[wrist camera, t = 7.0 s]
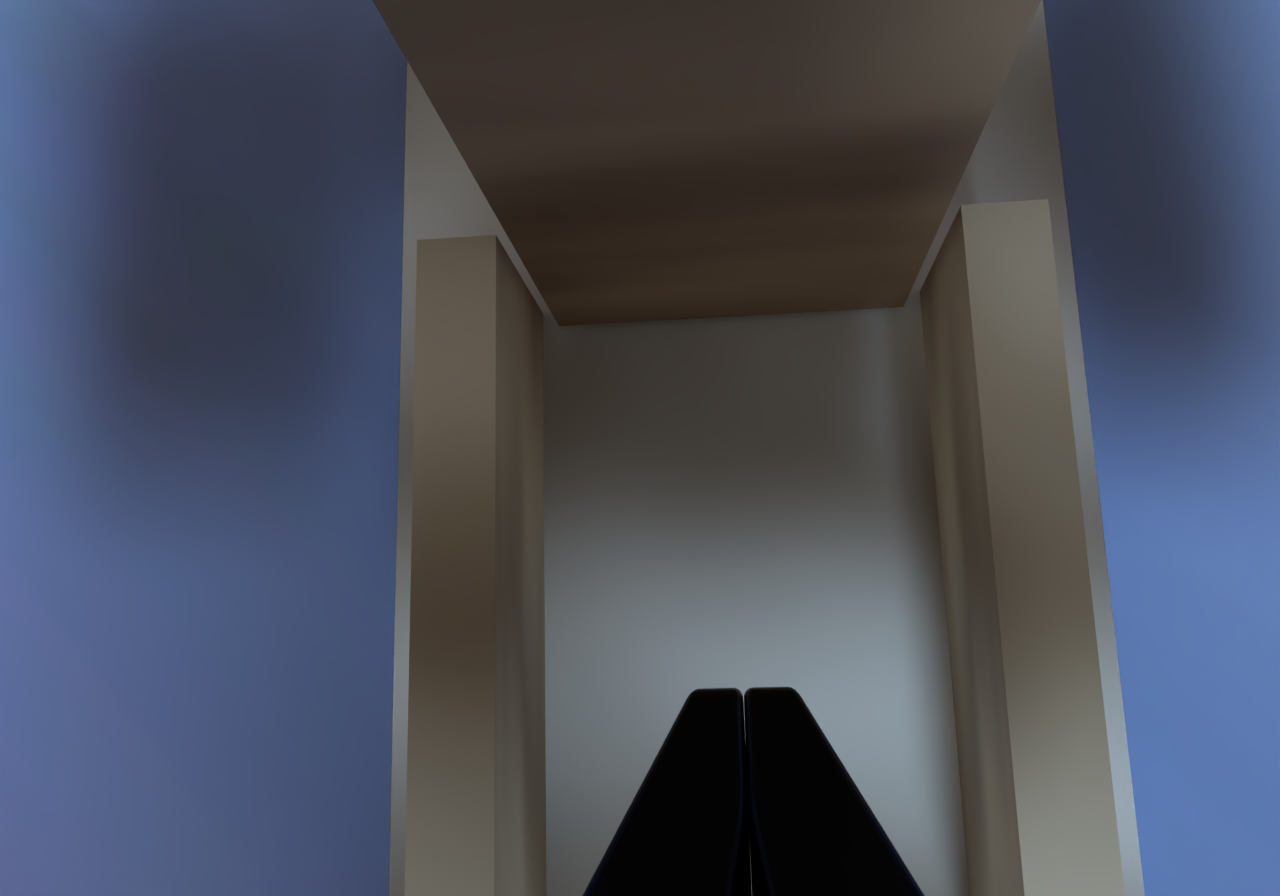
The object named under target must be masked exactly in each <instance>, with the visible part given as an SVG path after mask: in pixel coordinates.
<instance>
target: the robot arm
mask: <svg viewBox="0 0 1280 896" xmlns="http://www.w3.org/2000/svg"><path fill="white" fill-rule="evenodd" d="M744 716H745V723H744ZM745 743H746V744H745ZM750 860H751V863H750ZM751 881H752V888H751ZM582 896H925V895H924V894H923V892H922V890H921V889H920V887H919V886H918V884H917V882H916V881H915V879H914V877H913V876H912V874H911V873H910V871H909V869H908V868H907V866H906V865H905V863H904V861H903V860H902V858H901V857H900V855H899V853H898V852H897V850H896V849H895V847H894V845H893V844H892V842H891V840H890V839H889V837H888V836H887V834H886V832H885V831H884V829H883V828H882V826H881V824H880V823H879V821H878V820H877V818H876V816H875V815H874V813H873V811H872V810H871V808H870V807H869V805H868V803H867V802H866V800H865V799H864V797H863V795H862V794H861V792H860V791H859V789H858V787H857V786H856V784H855V782H854V781H853V779H852V778H851V776H850V774H849V773H848V771H847V770H846V768H845V766H844V765H843V763H842V762H841V760H840V758H839V757H838V755H837V754H836V752H835V750H834V749H833V747H832V745H831V744H830V742H829V741H828V739H827V737H826V736H825V734H824V733H823V731H822V729H821V728H820V726H819V725H818V723H817V721H816V720H815V718H814V716H813V715H812V713H811V712H810V710H809V708H808V707H807V705H806V704H805V702H804V700H803V699H802V697H801V696H800V694H799V693H798V692H797V691H796V690H795V689H793V688H791V687H753V688H749V689H748V690H746V692H745V694H744V702H743V694H742V693H741V691H740V690H738V689H737V688H704V689H695V690H694V691H692V692H691V693H690V694H689V696H688V697H687V699H686V701H685V703H684V704H683V706H682V708H681V710H680V712H679V714H678V716H677V718H676V720H675V721H674V723H673V725H672V727H671V729H670V731H669V733H668V735H667V737H666V738H665V740H664V742H663V744H662V746H661V748H660V750H659V752H658V754H657V755H656V757H655V759H654V761H653V763H652V765H651V767H650V769H649V771H648V772H647V774H646V776H645V778H644V780H643V782H642V784H641V786H640V788H639V789H638V791H637V793H636V795H635V797H634V799H633V801H632V803H631V805H630V806H629V808H628V810H627V812H626V814H625V816H624V818H623V820H622V822H621V823H620V825H619V827H618V829H617V831H616V833H615V835H614V837H613V839H612V840H611V842H610V844H609V846H608V848H607V850H606V852H605V854H604V856H603V857H602V859H601V861H600V863H599V865H598V867H597V869H596V871H595V872H594V874H593V876H592V878H591V880H590V882H589V884H588V886H587V888H586V889H585V891H584V893H583V895H582Z"/></svg>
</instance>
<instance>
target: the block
mask: <svg viewBox="0 0 1280 896" xmlns="http://www.w3.org/2000/svg"><path fill="white" fill-rule="evenodd" d="M373 1H374V3H375V5H376V7H377V8H378V10H379V12H380V14H381V15H382V17H383V19H384V21H385V22H386V24H387V26H388V28H389V29H390V31H391V33H392V35H393V36H394V38H395V40H396V42H397V43H398V45H399V47H400V49H401V50H402V52H403V54H404V56H405V57H406V59H407V61H408V63H409V65H410V66H411V68H412V70H413V72H414V73H415V75H416V77H417V79H418V80H419V82H420V84H421V86H422V87H423V89H424V91H425V93H426V94H427V96H428V98H429V100H430V101H431V103H432V105H433V107H434V108H435V110H436V112H437V114H438V115H439V117H440V119H441V121H442V122H443V124H444V126H445V128H446V129H447V131H448V133H449V135H450V136H451V138H452V140H453V142H454V143H455V145H456V147H457V149H458V150H459V152H460V154H461V156H462V157H463V159H464V161H465V163H466V164H467V166H468V168H469V170H470V171H471V173H472V175H473V177H474V178H475V180H476V182H477V184H478V185H479V187H480V189H481V191H482V192H483V194H484V196H485V198H486V199H487V201H488V203H489V205H490V206H491V208H492V210H493V212H494V213H495V215H496V217H497V219H498V220H499V222H500V224H501V226H502V227H503V229H504V231H505V233H506V234H507V236H508V238H509V240H510V241H511V243H512V245H513V247H514V248H515V250H516V252H517V254H518V255H519V257H520V259H521V261H522V262H523V264H524V266H525V268H526V269H527V271H528V273H529V275H530V276H531V278H532V280H533V282H534V283H535V285H536V287H537V289H538V290H539V292H540V294H541V296H542V297H543V299H544V301H545V303H546V304H547V306H548V308H549V310H550V311H551V313H552V315H553V317H554V318H555V320H556V322H557V324H558V325H559V326H569V325H587V324H605V323H623V322H641V321H659V320H677V319H695V318H713V317H731V316H749V315H767V314H785V313H803V312H821V311H838V310H856V309H874V308H892V307H904V304H905V302H906V300H907V298H908V296H909V293H910V291H911V289H912V287H913V284H914V282H915V280H916V278H917V275H918V273H919V271H920V269H921V267H922V264H923V262H924V260H925V258H926V255H927V253H928V251H929V249H930V247H931V244H932V242H933V240H934V238H935V235H936V233H937V231H938V229H939V227H940V224H941V222H942V220H943V218H944V215H945V213H946V211H947V209H948V206H949V204H950V202H951V200H952V198H953V195H954V193H955V191H956V189H957V186H958V184H959V182H960V180H961V178H962V175H963V173H964V171H965V169H966V166H967V164H968V162H969V160H970V158H971V155H972V153H973V151H974V149H975V146H976V144H977V142H978V140H979V137H980V135H981V133H982V131H983V129H984V126H985V124H986V122H987V120H988V117H989V115H990V113H991V111H992V109H993V106H994V104H995V102H996V100H997V97H998V95H999V93H1000V91H1001V88H1002V86H1003V84H1004V82H1005V80H1006V77H1007V75H1008V73H1009V71H1010V68H1011V66H1012V64H1013V62H1014V60H1015V57H1016V55H1017V53H1018V51H1019V48H1020V46H1021V44H1022V42H1023V40H1024V37H1025V35H1026V33H1027V31H1028V28H1029V26H1030V24H1031V22H1032V19H1033V17H1034V15H1035V13H1036V11H1037V8H1038V6H1039V4H1040V2H1041V0H373Z"/></svg>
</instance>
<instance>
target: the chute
mask: <svg viewBox="0 0 1280 896" xmlns="http://www.w3.org/2000/svg"><path fill="white" fill-rule="evenodd" d="M753 687H791V688H793V689H795V690H796V691H797V692H798V693H799V694H800V696H801V697H802V699H803V700H804V702H805V704H806V705H807V707H808V708H809V710H810V712H811V713H812V715H813V716H814V718H815V720H816V721H817V723H818V725H819V726H820V728H821V729H822V731H823V733H824V734H825V736H826V737H827V739H828V741H829V742H830V744H831V745H832V747H833V749H834V750H835V752H836V754H837V755H838V757H839V758H840V760H841V762H842V763H843V765H844V766H845V768H846V770H847V771H848V773H849V774H850V776H851V778H852V779H853V781H854V782H855V784H856V786H857V787H858V789H859V791H860V792H861V794H862V795H863V797H864V799H865V800H866V802H867V803H868V805H869V807H870V808H871V810H872V811H873V813H874V815H875V816H876V818H877V820H878V821H879V823H880V824H881V826H882V828H883V829H884V831H885V832H886V834H887V836H888V837H889V839H890V840H891V842H892V844H893V845H894V847H895V849H896V850H897V852H898V853H899V855H900V857H901V858H902V860H903V861H904V863H905V865H906V866H907V868H908V869H909V871H910V873H911V874H912V876H913V877H914V879H915V881H916V882H917V884H918V886H919V887H920V889H921V890H922V892H923V894H924V895H925V896H1145V894H1144V885H1143V876H1142V867H1141V858H1140V850H1139V841H1138V832H1137V823H1136V814H1135V806H1134V797H1133V788H1132V779H1131V770H1130V762H1129V753H1128V744H1127V735H1126V726H1125V718H1124V709H1123V700H1122V691H1121V682H1120V674H1119V665H1118V656H1117V647H1116V638H1115V630H1114V621H1113V612H1112V603H1111V594H1110V586H1109V577H1108V568H1107V559H1106V550H1105V542H1104V533H1103V524H1102V515H1101V506H1100V498H1099V489H1098V480H1097V471H1096V462H1095V454H1094V445H1093V436H1092V427H1091V418H1090V410H1089V401H1088V392H1087V383H1086V374H1085V366H1084V357H1083V348H1082V339H1081V330H1080V322H1079V313H1078V304H1077V295H1076V286H1075V278H1074V269H1073V260H1072V251H1071V242H1070V234H1069V225H1068V216H1067V207H1066V198H1065V190H1064V181H1063V172H1062V163H1061V154H1060V146H1059V137H1058V128H1057V119H1056V110H1055V102H1054V93H1053V84H1052V75H1051V66H1050V58H1049V49H1048V40H1047V31H1046V22H1045V14H1044V5H1043V0H1041V2H1040V4H1039V6H1038V8H1037V11H1036V13H1035V15H1034V17H1033V19H1032V22H1031V24H1030V26H1029V28H1028V31H1027V33H1026V35H1025V37H1024V40H1023V42H1022V44H1021V46H1020V48H1019V51H1018V53H1017V55H1016V57H1015V60H1014V62H1013V64H1012V66H1011V68H1010V71H1009V73H1008V75H1007V77H1006V80H1005V82H1004V84H1003V86H1002V88H1001V91H1000V93H999V95H998V97H997V100H996V102H995V104H994V106H993V109H992V111H991V113H990V115H989V117H988V120H987V122H986V124H985V126H984V129H983V131H982V133H981V135H980V137H979V140H978V142H977V144H976V146H975V149H974V151H973V153H972V155H971V158H970V160H969V162H968V164H967V166H966V169H965V171H964V173H963V175H962V178H961V180H960V182H959V184H958V186H957V189H956V191H955V193H954V195H953V198H952V200H951V202H950V204H949V206H948V209H947V211H946V213H945V215H944V218H943V220H942V222H941V224H940V227H939V229H938V231H937V233H936V235H935V238H934V240H933V242H932V244H931V247H930V249H929V251H928V253H927V255H926V258H925V260H924V262H923V264H922V267H921V269H920V271H919V273H918V275H917V278H916V280H915V282H914V284H913V287H912V289H911V291H910V293H909V296H908V298H907V300H906V302H905V304H904V307H892V308H874V309H856V310H838V311H821V312H803V313H785V314H767V315H749V316H731V317H713V318H695V319H677V320H659V321H641V322H623V323H605V324H587V325H569V326H559V325H558V324H557V322H556V320H555V318H554V317H553V315H552V313H551V311H550V310H549V308H548V306H547V304H546V303H545V301H544V299H543V297H542V296H541V294H540V292H539V290H538V289H537V287H536V285H535V283H534V282H533V280H532V278H531V276H530V275H529V273H528V271H527V269H526V268H525V266H524V264H523V262H522V261H521V259H520V257H519V255H518V254H517V252H516V250H515V248H514V247H513V245H512V243H511V241H510V240H509V238H508V236H507V234H506V233H505V231H504V229H503V227H502V226H501V224H500V222H499V220H498V219H497V217H496V215H495V213H494V212H493V210H492V208H491V206H490V205H489V203H488V201H487V199H486V198H485V196H484V194H483V192H482V191H481V189H480V187H479V185H478V184H477V182H476V180H475V178H474V177H473V175H472V173H471V171H470V170H469V168H468V166H467V164H466V163H465V161H464V159H463V157H462V156H461V154H460V152H459V150H458V149H457V147H456V145H455V143H454V142H453V140H452V138H451V136H450V135H449V133H448V131H447V129H446V128H445V126H444V124H443V122H442V121H441V119H440V117H439V115H438V114H437V112H436V110H435V108H434V107H433V105H432V103H431V101H430V100H429V98H428V96H427V94H426V93H425V91H424V89H423V87H422V86H421V84H420V82H419V80H418V79H417V77H416V75H415V73H414V72H413V70H412V68H411V66H410V65H409V63H408V61H407V86H406V132H405V178H404V224H403V270H402V316H401V362H400V408H399V454H398V500H397V546H396V592H395V638H394V684H393V730H392V776H391V822H390V868H389V896H582V895H583V893H584V891H585V889H586V888H587V886H588V884H589V882H590V880H591V878H592V876H593V874H594V872H595V871H596V869H597V867H598V865H599V863H600V861H601V859H602V857H603V856H604V854H605V852H606V850H607V848H608V846H609V844H610V842H611V840H612V839H613V837H614V835H615V833H616V831H617V829H618V827H619V825H620V823H621V822H622V820H623V818H624V816H625V814H626V812H627V810H628V808H629V806H630V805H631V803H632V801H633V799H634V797H635V795H636V793H637V791H638V789H639V788H640V786H641V784H642V782H643V780H644V778H645V776H646V774H647V772H648V771H649V769H650V767H651V765H652V763H653V761H654V759H655V757H656V755H657V754H658V752H659V750H660V748H661V746H662V744H663V742H664V740H665V738H666V737H667V735H668V733H669V731H670V729H671V727H672V725H673V723H674V721H675V720H676V718H677V716H678V714H679V712H680V710H681V708H682V706H683V704H684V703H685V701H686V699H687V697H688V696H689V694H690V693H691V692H692V691H694V690H695V689H704V688H737V689H738V690H740V691H741V693H742V694H743V702H744V694H745V692H746V690H748V689H749V688H753ZM744 723H745V716H744ZM745 744H746V743H745ZM750 863H751V860H750ZM751 888H752V881H751Z"/></svg>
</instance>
